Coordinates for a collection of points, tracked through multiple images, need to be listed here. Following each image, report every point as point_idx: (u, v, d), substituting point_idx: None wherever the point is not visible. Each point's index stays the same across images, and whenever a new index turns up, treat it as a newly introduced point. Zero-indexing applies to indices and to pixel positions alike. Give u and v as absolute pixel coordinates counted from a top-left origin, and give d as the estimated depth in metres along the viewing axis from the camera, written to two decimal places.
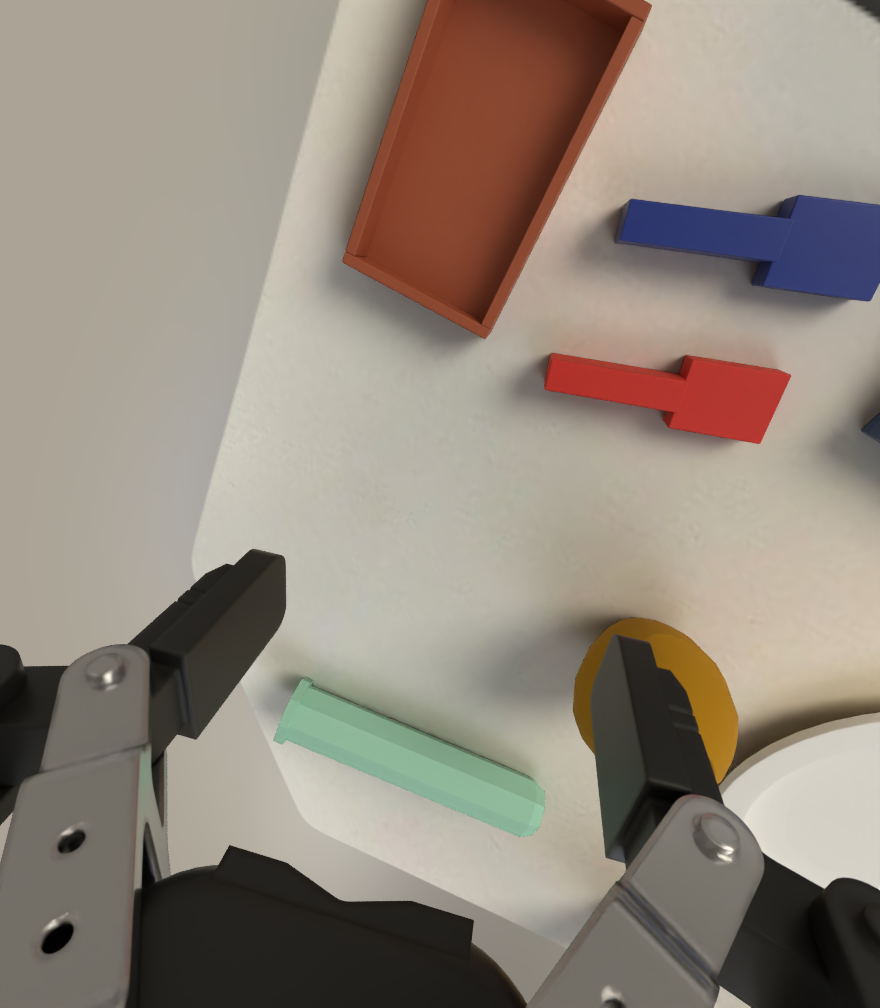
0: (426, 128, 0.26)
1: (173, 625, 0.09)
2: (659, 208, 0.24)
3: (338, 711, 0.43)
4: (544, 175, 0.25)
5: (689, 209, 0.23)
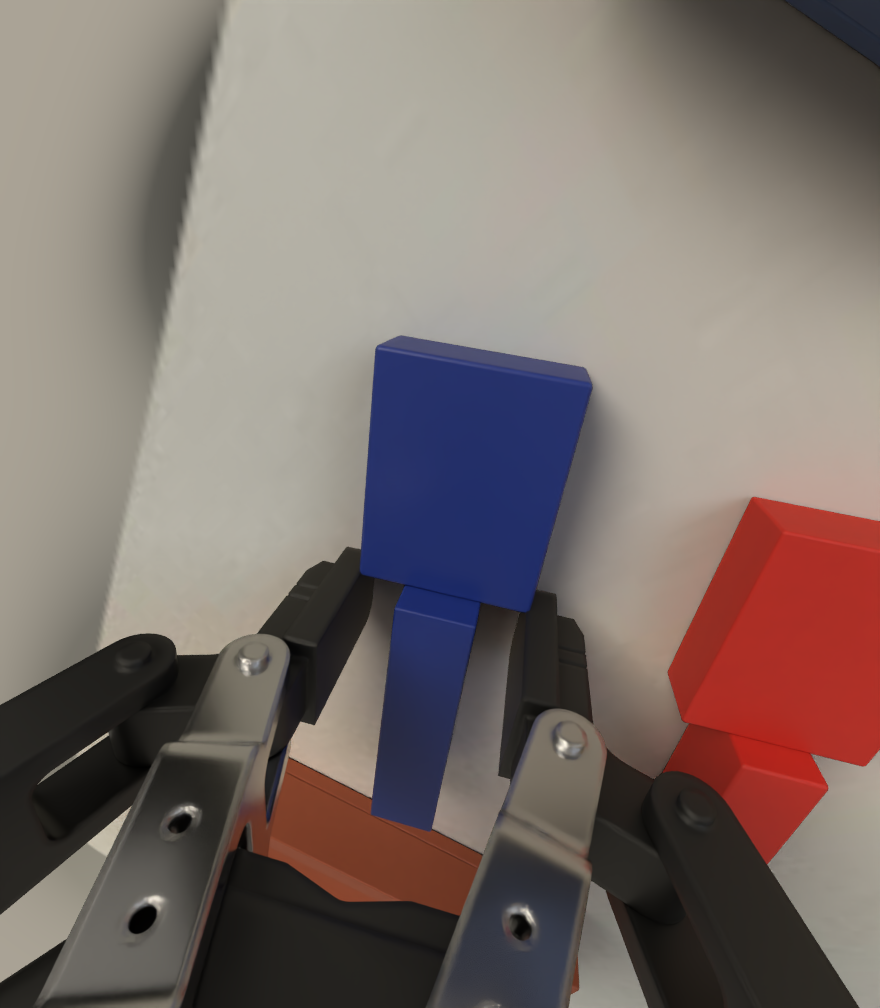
0: None
1: (298, 617, 0.10)
2: (382, 786, 0.13)
3: None
4: None
5: (382, 752, 0.13)
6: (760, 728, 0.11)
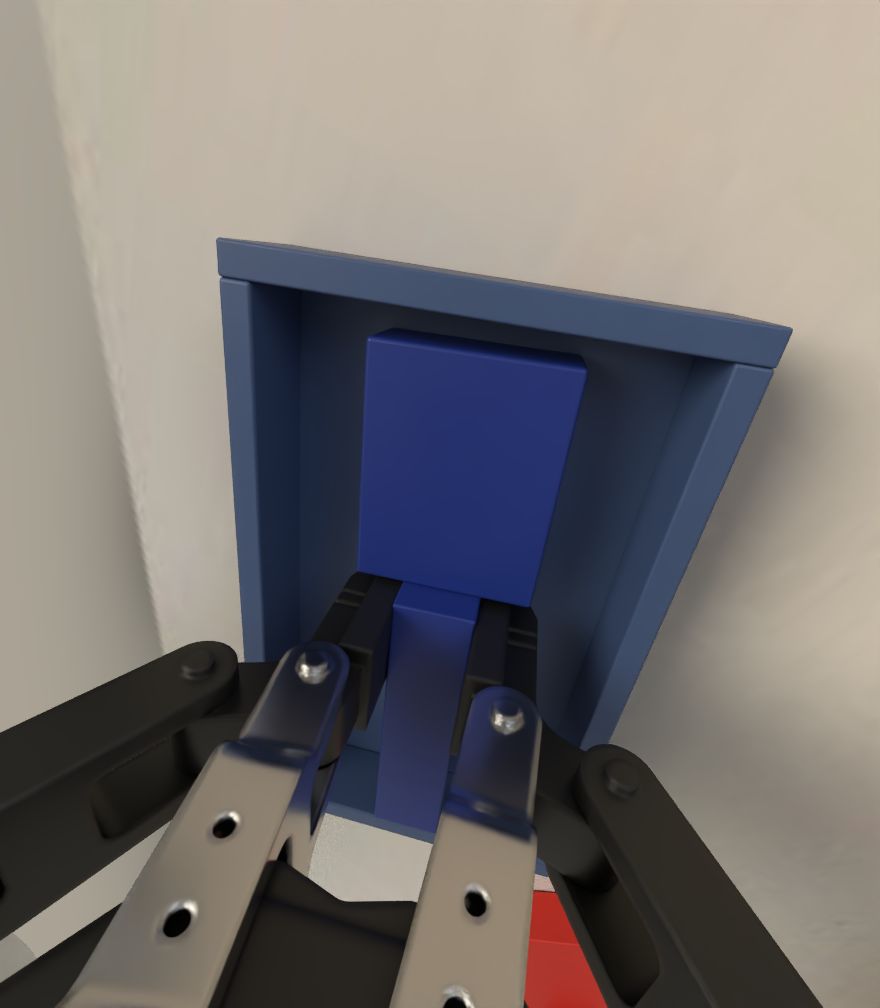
0: None
1: (351, 624, 0.10)
2: (385, 788, 0.13)
3: None
4: None
5: (384, 752, 0.12)
6: None
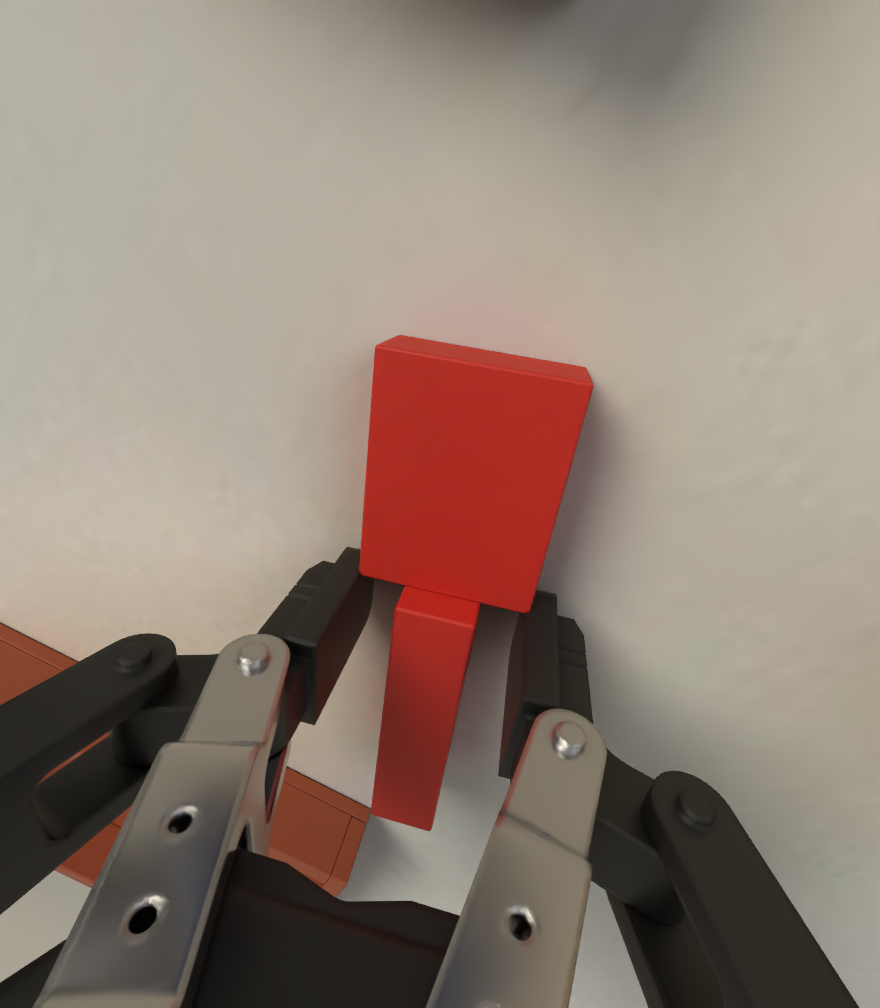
0: None
1: (298, 617, 0.10)
2: None
3: None
4: None
5: None
6: (426, 576, 0.11)
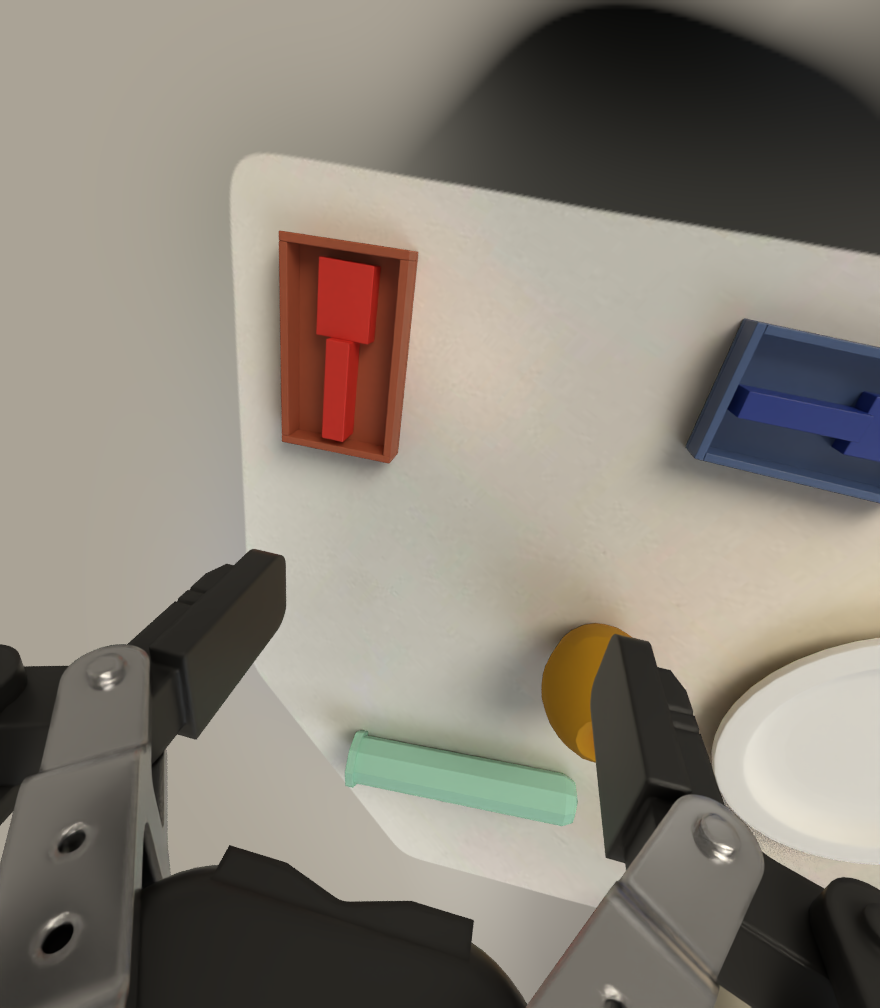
0: (308, 344, 0.38)
1: (173, 625, 0.09)
2: (771, 399, 0.31)
3: (389, 751, 0.53)
4: (392, 350, 0.37)
5: (794, 402, 0.31)
6: (336, 332, 0.35)
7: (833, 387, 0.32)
